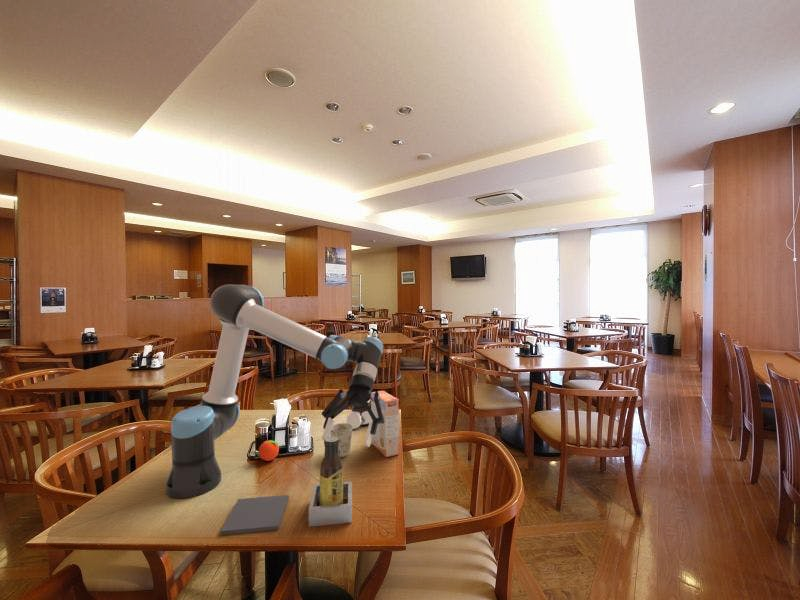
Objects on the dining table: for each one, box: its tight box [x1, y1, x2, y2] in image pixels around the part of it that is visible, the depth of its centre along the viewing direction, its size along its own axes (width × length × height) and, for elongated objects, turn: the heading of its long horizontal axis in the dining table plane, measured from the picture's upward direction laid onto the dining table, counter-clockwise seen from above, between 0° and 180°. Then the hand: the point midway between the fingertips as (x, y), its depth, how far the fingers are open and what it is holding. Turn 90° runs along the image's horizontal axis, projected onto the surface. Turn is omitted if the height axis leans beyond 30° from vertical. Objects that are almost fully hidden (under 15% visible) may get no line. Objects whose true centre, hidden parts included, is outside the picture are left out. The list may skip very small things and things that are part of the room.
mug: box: [330, 422, 353, 458], centre depth 131 cm, size 8×13×10 cm, turn 174°
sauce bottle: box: [319, 436, 344, 506], centre depth 98 cm, size 7×6×20 cm
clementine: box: [258, 439, 281, 462], centre depth 129 cm, size 8×7×7 cm
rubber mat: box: [220, 494, 290, 536], centre depth 97 cm, size 14×14×1 cm
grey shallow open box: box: [308, 481, 353, 527], centre depth 98 cm, size 11×12×4 cm
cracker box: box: [370, 390, 400, 458], centre depth 136 cm, size 14×6×21 cm, turn 26°
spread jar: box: [346, 399, 371, 430], centre depth 162 cm, size 12×11×12 cm
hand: (345, 442), depth 104 cm, fingers open, 13 cm apart
